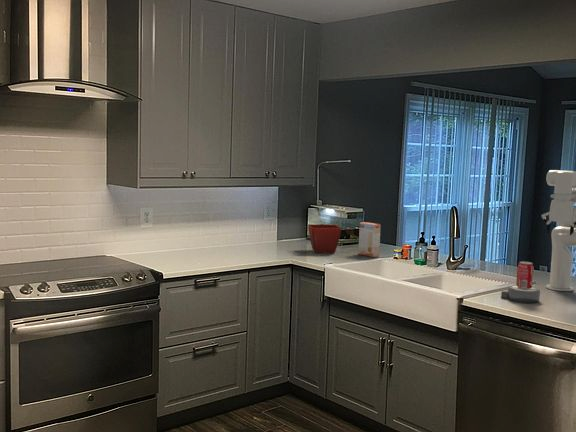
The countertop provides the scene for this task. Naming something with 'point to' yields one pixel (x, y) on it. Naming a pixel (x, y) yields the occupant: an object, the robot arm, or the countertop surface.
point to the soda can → (525, 275)
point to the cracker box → (369, 239)
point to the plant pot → (324, 238)
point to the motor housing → (521, 295)
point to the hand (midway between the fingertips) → (559, 233)
